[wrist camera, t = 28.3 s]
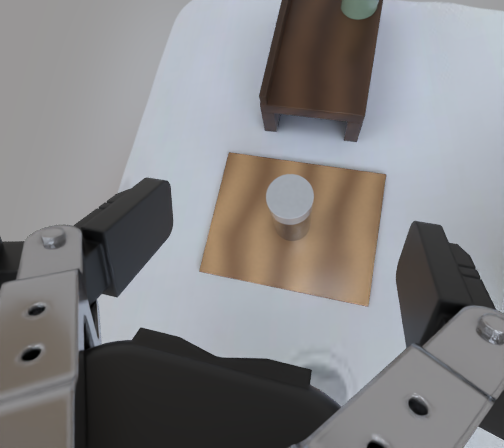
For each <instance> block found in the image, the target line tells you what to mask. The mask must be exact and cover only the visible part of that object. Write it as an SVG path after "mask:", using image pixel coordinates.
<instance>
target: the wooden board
mask: <svg viewBox="0 0 504 448" xmlns="http://www.w3.org/2000/svg"><path fill="white" fill-rule="evenodd" d="M286 174H295V175H299V176H301V177H303V178H305V179H306V180H307V181H308V182H309V183H310V185H311V186H312V189H313V192H314V201H313V208H312V215H311V225H310V229H309V232H308V233H307V235H306V236H305V237H303V238H302V239H300V240H297V241H288V240H285V239H283V238H281V237H280V236H279V235H278V234H277V232H276V230H275V227H274V224H273V221H272V217H271V214H270V212H269V209H268V205H267V202H266V192H267V189H268V187H269V185H270V184H271V183H272V181H274V180H275V179H276V178H278V177H280V176H282V175H286ZM385 179H386V174H380V173H373V172H365V171H358V170H351V169H344V168H337V167H330V166H322V165H315V164H308V163H301V162H294V161H287V160H280V159H272V158H265V157H258V156H251V155H244V154H237V153H230V152H229V154H228V158H227V162H226V166H225V170H224V174H223V178H222V182H221V186H220V190H219V194H218V198H217V202H216V206H215V210H214V214H213V218H212V222H211V226H210V230H209V234H208V238H207V242H206V246H205V250H204V254H203V258H202V262H201V266H200V270H199V271H200V272H204V273H209V274H214V275H219V276H223V277H228V278H233V279H238V280H243V281H247V282H252V283H257V284H262V285H267V286H271V287H276V288H281V289H286V290H291V291H295V292H300V293H305V294H310V295H315V296H319V297H324V298H329V299H334V300H339V301H343V302H348V303H353V304H358V305H363V306H368V305H369V297H370V290H371V283H372V275H373V268H374V260H375V253H376V246H377V238H378V231H379V223H380V216H381V208H382V201H383V194H384V186H385Z"/></svg>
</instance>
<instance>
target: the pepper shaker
mask: <svg viewBox="0 0 504 448" xmlns="http://www.w3.org/2000/svg"><path fill="white" fill-rule="evenodd" d="M313 201H314V192H313V189H312V186H311V185H310V183H309V182H308V181H307V180H306V179H305V178H303V177H301V176H299V175H295V174H286V175H282V176H280V177H278V178H276V179H275V180H274V181H272V183H271V184H270V185H269V187H268V189H267V192H266V202H267V205H268V209H269V212H270V214H271V217H272V221H273V224H274V227H275V230H276V232H277V234H278V235H279V236H280V237H281V238H283V239H285V240H288V241H297V240H300V239H302V238H303V237H305V236H306V235H307V233H308V232H309V229H310V225H311V215H312V208H313Z"/></svg>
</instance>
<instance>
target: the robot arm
mask: <svg viewBox="0 0 504 448" xmlns="http://www.w3.org/2000/svg"><path fill="white" fill-rule="evenodd" d="M172 227H173V211H172V198H171V187H170V184H169V182H168V181H165V180H159V179H153V178H144V179H143V180H142V181H140V182H139V183H138V184H136V185H135V186H134V187H133V188H131V189H128V190H126V191H123V192H120V193H118V194H116V195H115V196H113V197H112V198H110V199H109V200H108V201H107V203H104V204H102V205H101V206H100V207H99V209H96V210H94V211H93V212H92V213H90V214H89V215H87V216H86V217H85V218H83V219H82V220H81V221H79V222H78V223H76V224H75V225H74V226H71V225H54V226H49V227H45V228H42V229H40V230H37V231H35V232H34V233H32V234H31V235H29V236H28V237H27V238H26V240H25V241H23V242H22V241H21V242H2V240H1V237H0V448H463V447H464V446H465V445H466V443H467V442H468V440H469V439H470V437H471V436H472V434H473V433H474V432H475V430H476V429H477V427H480V428H482V429H484V430H486V431H488V432H490V433H492V434H494V435H495V436H497V437H499V438H501V439H503V440H504V313H502V312H500V311H497V310H496V308H495V306H494V304H493V302H492V300H491V298H490V296H489V294H488V292H487V290H486V288H485V286H484V284H483V282H482V280H480V275H479V273H478V271H477V270H475V268H476V267H475V265H474V263H473V261H472V259H471V257H470V255H469V254H468V253H466V252H465V251H464V250H463V249H462V248H461V247H460V246H459V245H458V244H453V243H449V242H448V240H447V237H446V235H445V232H444V230H443V228H442V226H441V225H437V224H431V223H424V222H418V221H414V222H413V223H412V224H411V226H410V229H409V232H408V235H407V238H406V241H405V244H404V247H403V250H402V253H401V256H400V259H399V262H398V266H397V271H396V284H397V291H398V297H399V303H400V310H401V316H402V323H403V329H404V335H405V342H406V349H405V350H404V351H403V352H402V353H401V354H400V355H399V356H398V357H396V358H395V359H394V360H393V361H392V362H391V363H390V364H389V365H388V366H386V367H385V368H384V369H383V370H382V371H381V372H380V373H379V374H378V375H377V376H375V377H374V378H373V379H372V380H371V381H370V382H369V383H368V384H367V385H365V386H364V387H363V388H362V389H361V390H360V391H359V392H358V393H357V394H356V395H354V396H353V397H352V398H351V399H350V400H349V401H348V402H347V403H346V404H344V405H343V406H342V407H341V406H340V405H339V404H338V403H337V402H335V401H334V400H333V399H332V398H330V397H329V396H328V395H326V394H325V393H323V392H322V391H320V390H319V389H317V388H315V387H313V386H312V385H310V380H311V371H312V370H310V369H306V368H302V367H298V366H294V365H290V364H286V363H282V362H278V361H274V360H270V359H259V358H221V357H217V356H214V355H212V354H210V353H209V352H207V351H205V350H203V349H201V348H199V347H197V346H195V345H193V344H192V343H190V342H188V341H186V340H184V339H182V338H180V337H177V336H173V335H169V334H165V333H161V332H157V331H153V330H149V329H145V328H140V329H139V330H138V332H137V333H136V335H135V336H134V338H133V339H132V340H124V341H115V342H110V343H105V344H102V341H101V328H100V314H99V304H98V300H97V298H98V297H99V296H100V295H101V294H105V295H109V296H114V297H118V296H119V295H120V294H121V293H122V291H123V290H124V289H125V288H126V287H127V285H128V284H129V283H130V282H131V281H132V280H133V278H134V277H135V276H136V275H137V274H138V273H139V271H140V270H141V269H142V268H143V267H144V265H145V264H146V263H147V262H148V261H149V260H150V258H151V257H152V256H153V255H154V254H155V253H156V251H157V250H158V249H159V248H160V247H161V246H162V244H163V243H164V242H165V241H166V240H167V238H168V237H169V236H170V234H171V231H172Z"/></svg>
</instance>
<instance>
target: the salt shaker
mask: <svg viewBox="0 0 504 448" xmlns="http://www.w3.org/2000/svg"><path fill="white" fill-rule="evenodd" d="M378 3H379V0H341V10H342V12H343V13H344V15H346V16H347V17H349V18H351V19H356V20H360V19H365V18H368V17H370V16H371V15H372V14H374V12H375V11H376V10H377V7H378Z"/></svg>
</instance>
